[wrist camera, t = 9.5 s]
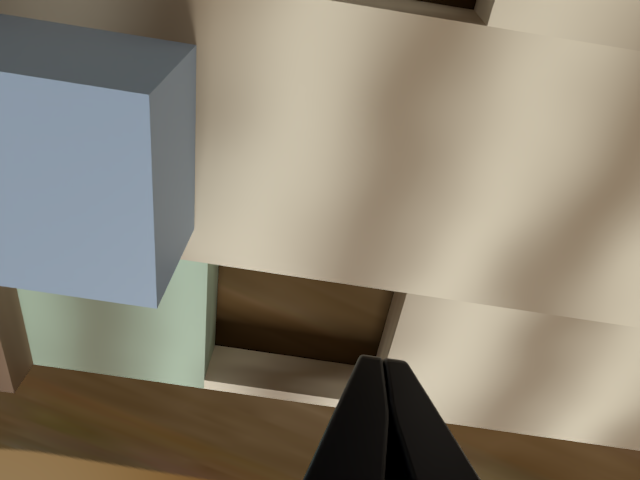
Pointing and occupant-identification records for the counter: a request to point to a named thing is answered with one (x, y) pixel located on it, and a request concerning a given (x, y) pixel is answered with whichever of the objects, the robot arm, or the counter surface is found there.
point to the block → (94, 160)
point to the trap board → (395, 203)
